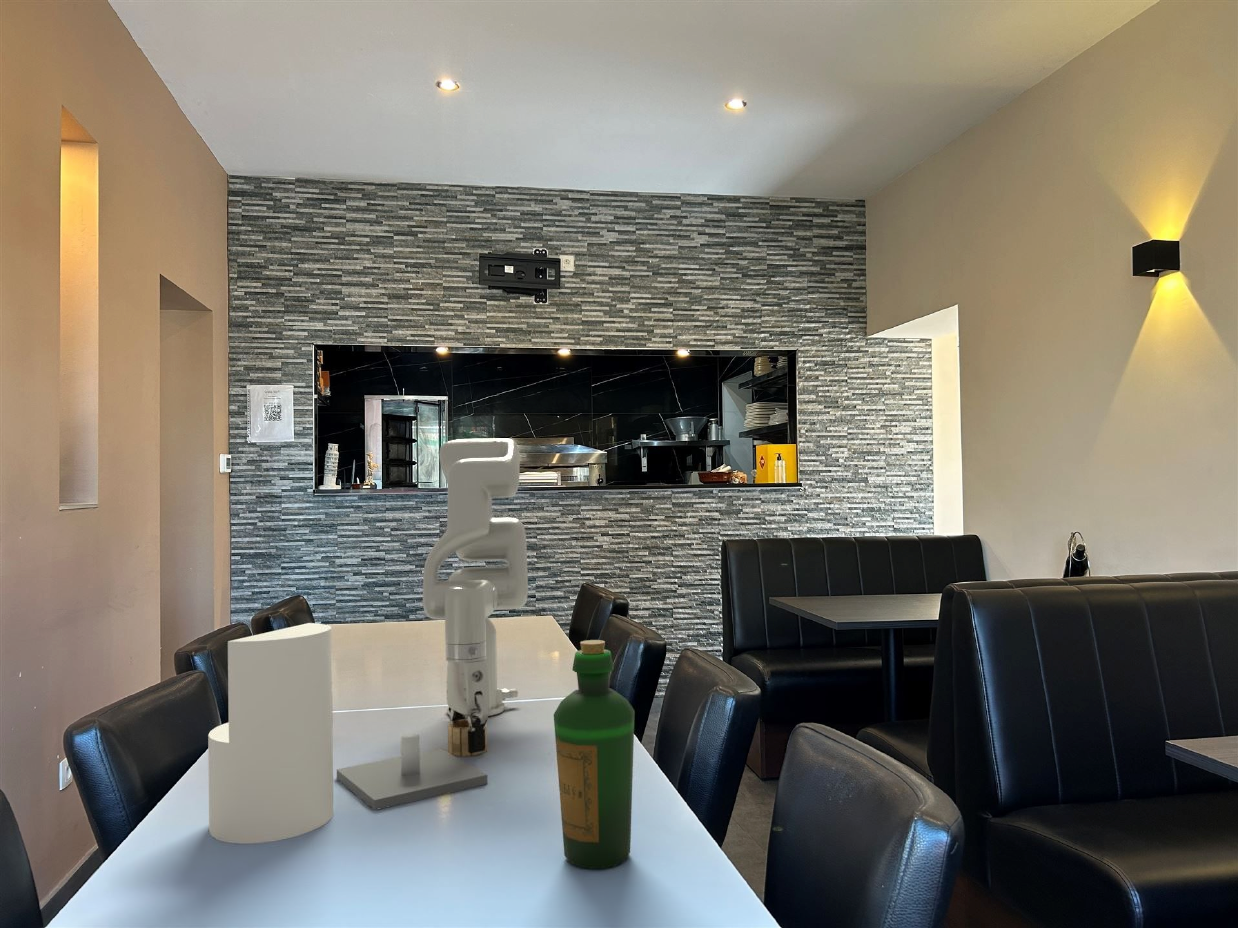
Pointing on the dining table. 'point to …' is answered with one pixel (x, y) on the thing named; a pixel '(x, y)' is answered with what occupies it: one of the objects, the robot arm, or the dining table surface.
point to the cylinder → (274, 738)
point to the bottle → (595, 763)
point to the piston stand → (410, 776)
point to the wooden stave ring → (461, 738)
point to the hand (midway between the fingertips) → (467, 746)
